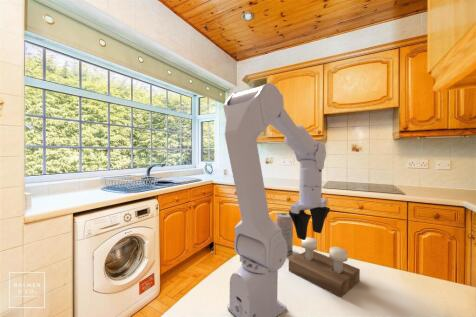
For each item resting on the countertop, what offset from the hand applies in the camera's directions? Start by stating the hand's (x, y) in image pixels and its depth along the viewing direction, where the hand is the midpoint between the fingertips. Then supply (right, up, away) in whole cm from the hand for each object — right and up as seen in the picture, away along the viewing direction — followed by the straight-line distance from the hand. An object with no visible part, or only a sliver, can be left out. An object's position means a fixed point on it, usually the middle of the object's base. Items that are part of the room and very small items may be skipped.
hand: (309, 235), depth 58 cm
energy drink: (-5, -9, +11) cm, 15 cm away
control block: (+2, -9, -3) cm, 10 cm away
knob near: (+5, -7, -6) cm, 10 cm away
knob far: (0, -7, 0) cm, 7 cm away
